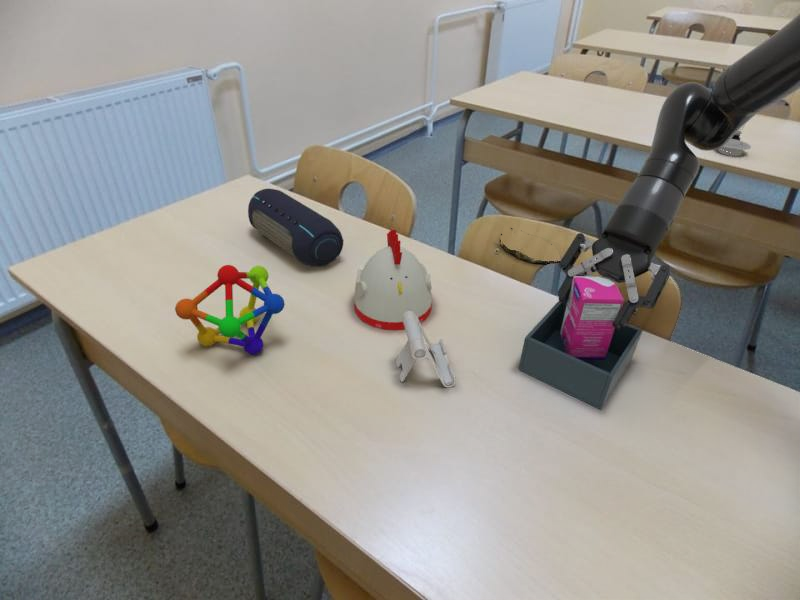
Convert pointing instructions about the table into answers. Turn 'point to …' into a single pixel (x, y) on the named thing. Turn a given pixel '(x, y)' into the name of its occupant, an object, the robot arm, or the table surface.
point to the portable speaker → (295, 227)
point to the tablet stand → (423, 351)
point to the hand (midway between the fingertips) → (587, 314)
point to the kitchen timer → (392, 287)
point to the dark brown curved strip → (524, 256)
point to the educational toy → (229, 323)
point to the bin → (576, 360)
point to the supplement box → (590, 317)
